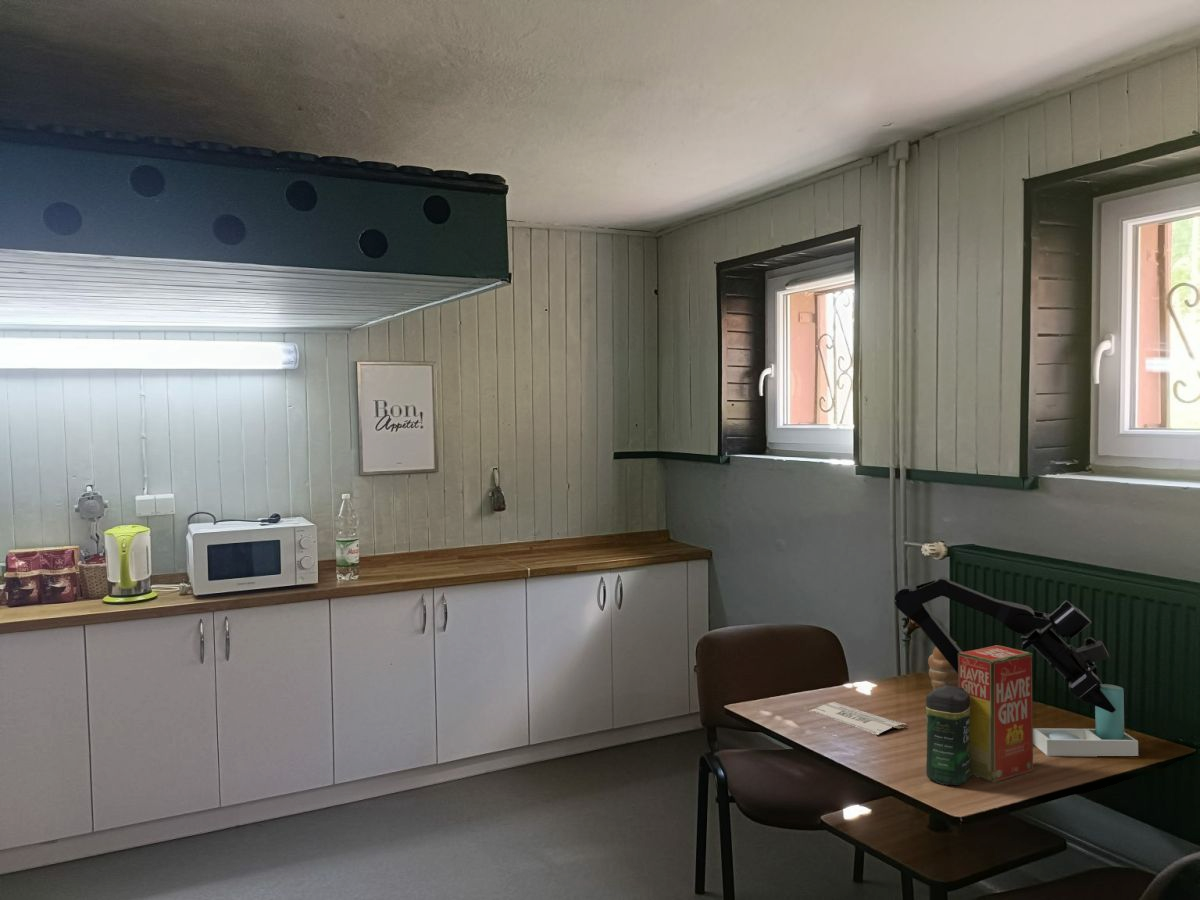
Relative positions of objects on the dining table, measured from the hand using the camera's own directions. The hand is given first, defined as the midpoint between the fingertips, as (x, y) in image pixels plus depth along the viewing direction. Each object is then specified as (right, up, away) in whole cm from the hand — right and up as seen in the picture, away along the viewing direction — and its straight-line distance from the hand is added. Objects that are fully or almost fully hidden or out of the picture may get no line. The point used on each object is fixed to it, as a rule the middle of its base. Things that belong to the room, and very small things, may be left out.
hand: (1112, 705), depth 195 cm
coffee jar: (-42, -11, -14) cm, 45 cm away
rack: (-6, -10, +1) cm, 12 cm away
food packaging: (-30, -11, -10) cm, 34 cm away
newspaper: (-49, -12, +25) cm, 57 cm away
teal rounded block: (0, -9, 0) cm, 9 cm away
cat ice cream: (-24, -11, +32) cm, 41 cm away
